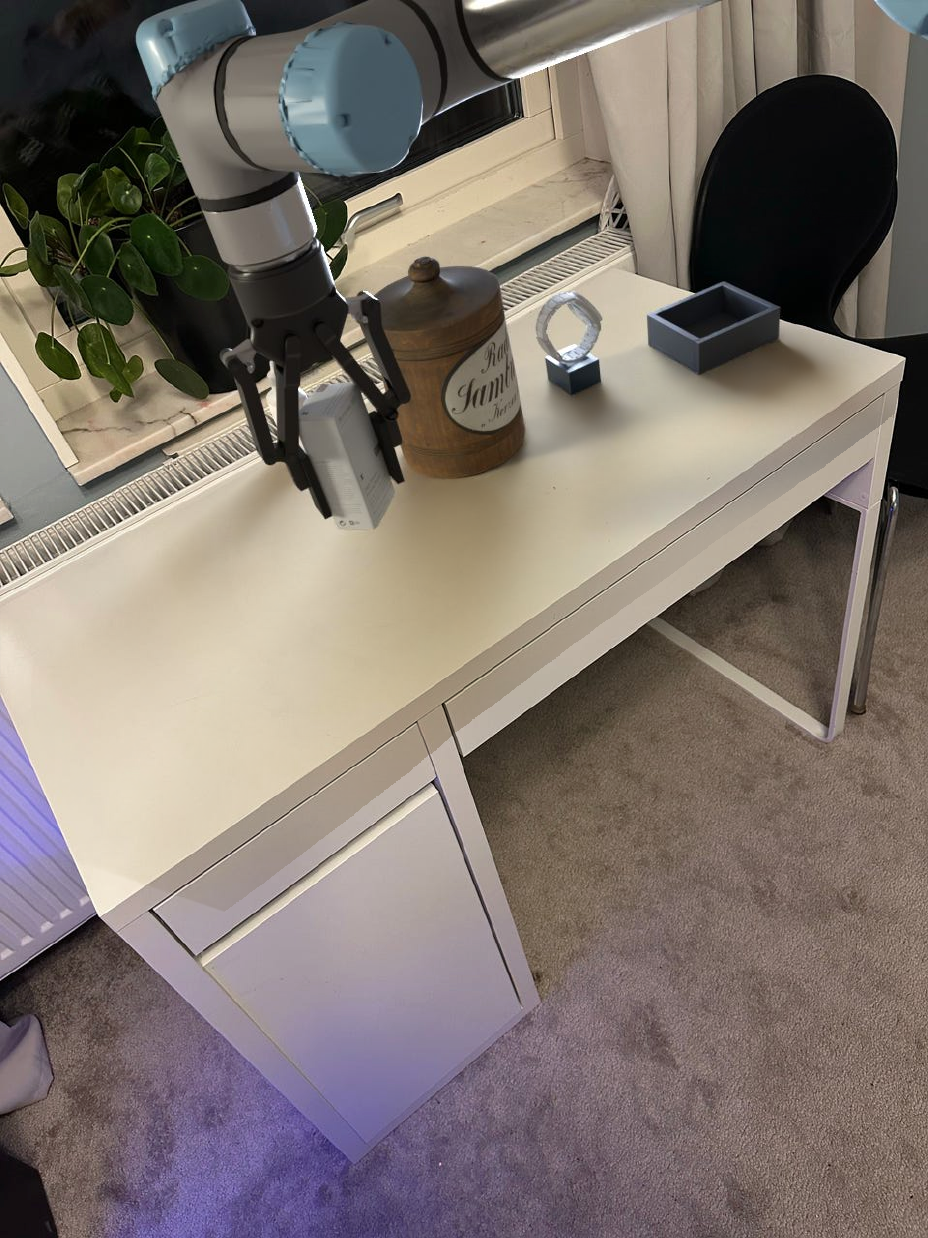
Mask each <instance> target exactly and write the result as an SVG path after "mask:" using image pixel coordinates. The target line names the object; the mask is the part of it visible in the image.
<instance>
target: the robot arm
mask: <svg viewBox="0 0 928 1238" xmlns="http://www.w3.org/2000/svg"><path fill="white" fill-rule="evenodd" d="M722 1H723V0H366V1H363V2H361V3H359V4H356V5H355V6H351V7H350V8H348V9H345V10H343V11H340V12H337V13H336V14H334V15H332V16H330V17H327V18H324V19H323V20H322V19H321V20H320V21H318V22H315V23H313V24H311V25H309V26H305V27H303V28H299V29H296V30H291V31H286V32H279V33H273V34H266V35H257V33H256V28H255V26H254V25H253V23H252V21H251V19H250V17H249V15H248V12H247V9H246V7H245V5H244V3H243V2H242V1H241V0H194V1H189V2H186V3H184V4H181V5H177V6H174V7H172V8H169V9H166V10H163V11H161V12H159V13H156V14H154V15H151V16H150V17H148V18H146V19H144V20H143V21H142V22H141V23H140V24H139V25H138V28H137V30H136V34H135V43H136V47H137V50H138V53H139V55H140V59H141V61H142V64H143V67H144V69H145V73H146V75H147V77H148V80H149V83H150V86H151V88H152V90H151V94H152V99H153V101H154V102H155V103H156V105H157V107H158V110H159V112H160V114H161V116H162V119H163V122H164V123H165V126H166V129H167V131H168V133H169V136H170V138H171V141H172V142H173V145H174V146H175V149H176V152H177V155H178V157H179V159H180V162H181V164H182V167H183V168H184V171H185V174H186V177H187V178H188V180H189V183H190V185H191V187H192V190H193V192H194V194H195V197H196V198H197V201H198V203H199V205H200V208H201V210H202V214H203V215H204V218H205V221H206V224H207V225H208V229H209V231H210V233H211V235H212V238H213V241H214V243H215V246H216V249H217V251H218V253H219V256H220V258H221V260H222V261H223V262H224V263H226V264H227V265H228V269H227V276H228V278H229V281H230V284H231V287H232V289H233V291H234V293H235V296H236V298H237V301H238V303H239V306H240V308H241V311H242V313H243V315H244V317H245V320H246V321H245V322H246V339H245V340H244V341H242V342H241V343H239V344H238V345H237V346H236V347H234V348H232V349H231V348H229V347H228V348H227V347H225V348H223V349H222V350H221V351H220V353H219V359H220V361H221V362H222V363H223V365H224V366H225V367H226V369H227V370H228V372H229V373H230V374H231V375H232V376H233V379H234V382H235V386H236V388H237V389H236V390H237V392H238V396H239V399H240V402H241V405H242V409H243V412H244V415H245V418H246V421H247V425H248V428H249V431H250V435H251V438H252V441H253V445H254V448H255V451H256V452H257V454H258V455H259V457H260V458H261V460H262V461H263V463H265V465H267V466H270V467H271V466H274V465H275V464H277V463H284V465H285V467H286V469H287V472H288V474H289V476H290V479H291V481H292V483H293V484H294V485H295V487H296V488H297V489H298V490H299V491H300V492H303V491H305V490H308V492H309V494H310V496H311V499H312V501H313V503H314V507H316V509H317V510H318V512H319V513H320V514H321V516H322V517H323V519H324V520H327V519H329V518H331V517H332V513H331V511H330V508H329V506H328V503H327V501H326V498H325V496H324V493H323V491H322V488H321V486H320V483H319V481H318V478H317V476H316V473H315V471H314V468H313V466H312V463H311V461H310V458H309V457H308V455H307V454H306V453H305V452H304V450H303V449H302V448H301V447H300V445H299V389H300V386H301V373H303V372H306V371H308V370H310V368H312V367H313V366H314V365H316V364H321V363H326V362H329V361H331V360H334V362H336V364H337V365H338V366H339V367H340V368H341V369H342V371H343V372H344V373H345V375H347V377H348V378H349V379H350V380H351V382H354V383H355V384H356V386H357V387H358V388H359V389H360V391H361V394H362V395H363V396H364V397H365V398H366V399H367V401H368V402H369V403H370V404H371V405H372V406H373V408H375V410H373V411H371V412H368V414H369V416H370V419H371V422H372V425H373V428H374V431H375V434H376V437H377V440H378V442H379V445H380V448H381V451H382V454H383V457H384V460H385V463H386V466H387V469H388V471H389V474H390V477H391V480H392V481H394V482H395V483H396V484H397V485H400V484H403V483H405V481H406V480H405V477H404V474H403V470H402V467H401V464H400V461H399V458H398V454H397V451H396V448H397V447H399V446H401V444H402V436H401V432H400V430H399V426H398V423H397V418H398V416H399V413H398V411H397V408H398V407H399V406H400V405H402V404H406V403H408V402H409V401H410V399H411V394H410V391H409V389H408V387H407V384H406V382H405V379H404V377H403V375H402V372H401V370H400V368H399V365H398V363H397V360H396V358H395V356H394V353H393V351H392V348H391V346H390V344H389V341H388V339H387V337H386V334H385V332H384V329H383V327H382V319H381V304H380V302H379V300H378V299H376V298H375V297H373V296H374V295H372V294H371V293H370V292H369V291H366V290H360V291H359V292H357V294H356V296H350V297H343V296H342V295H341V294H340V293H339V291H338V290H337V287H336V285H335V284H336V283H335V281H334V278H333V275H332V272H331V269H330V268H331V267H330V266H329V262H328V259H327V255H326V253H325V250H324V246H323V244H322V242H321V241H320V240H319V239H317V237H315V236H316V234H317V230H318V228H317V225H316V222H315V219H314V216H313V213H312V209H311V207H310V204H309V201H308V198H307V195H306V192H305V189H304V186H303V182H302V180H301V177H300V173H310V174H312V173H313V174H326V175H332V176H334V177H342V176H345V177H347V178H352V177H359V176H361V175H363V174H374V173H381V172H385V171H388V170H391V169H393V168H394V167H396V166H398V165H399V164H401V163H402V162H403V161H404V160H405V159H406V157H407V155H408V154H409V149H410V148H411V146H412V144H413V142H414V141H415V140H416V139H417V138H418V135H419V132H420V130H421V126H422V125H424V124H425V123H427V122H428V121H430V120H432V119H433V118H434V117H436V116H438V115H440V114H442V113H443V112H445V111H447V110H449V109H451V108H453V107H455V106H457V105H459V104H460V103H463V102H465V101H466V100H469V99H471V98H474V97H475V96H478V95H480V94H484V93H486V92H488V91H490V90H493V89H496V88H498V87H501V86H504V85H507V84H509V83H511V82H513V81H515V80H518V79H519V78H521V77H525V76H527V75H529V74H532V73H534V72H538V71H540V70H543V69H545V68H547V67H551V66H553V65H556V64H558V63H561V62H563V61H566V60H568V59H572V58H574V57H577V56H579V55H582V54H584V53H587V52H590V51H592V50H595V49H598V48H600V47H604V46H606V45H608V44H611V43H614V42H617V41H619V40H622V39H624V38H627V37H629V36H632V35H635V34H638V33H640V32H642V31H645V30H648V29H650V28H653V27H656V26H659V25H661V24H664V23H666V22H669V21H672V20H674V19H677V18H680V17H682V16H685V15H688V14H690V13H694V12H695V11H698V10H701V9H703V8H706V7H708V6H711V5H714V4H716V3H719V2H722ZM873 1H874V2H875V3H876V5H877V6H878V7H879V8H880V9H881V10H882V12H883V13H885V14H886V16H888V17H889V18H890V19H891V20H892V21H893V22H895V24H897V25H899V27H901V28H903V29H904V30H906V31H907V32H908V33H910V34H913V35H914V36H917V37H921V38H924V39H925V40H927V41H928V0H873ZM348 315H350V316H351V318H352V320H353V321H354V322H355V323H357V324H358V325H359V327H360V329H361V332H362V334H363V336H364V339H365V342H366V344H367V345H368V348H369V350H370V352H371V354H372V357H373V359H374V362H375V364H376V366H377V368H378V370H379V373H380V375H382V376H381V378H382V377H383V380H384V382H385V384H386V386H387V389H388V390H387V391H386V392H385V391H384V392H382V391H381V390H380V388H379V387H378V386H377V384H375V382H374V381H373V380H372V378H371V377H370V376H369V375H368V373H367V372H366V371H365V370H364V369H363V368H362V366H361V365H360V364H359V363H358V361H357V360H356V359H355V357H354V356H353V354H352V353H351V352H350V351H349V350H348V348H347V347H346V346H345V345H344V343H342V341H341V339H342V336H343V332H344V329H345V325H346V322H347V318H348ZM257 353H258V354H260V355H261V356H263V357H265V358H266V359H268V360H269V361H273V362H274V374H275V377H276V411H277V426H276V441H275V442H274V441H273V436H272V434H271V430H270V426H269V423H268V419H267V415H266V412H265V409H264V405H263V403H262V399H261V396H260V392H259V389H258V386H257V383H256V381H255V379H254V377H253V375H252V373H254V372H255V369H256V363H255V359H254V358H255V356H256V354H257ZM383 380H382V381H383Z"/></svg>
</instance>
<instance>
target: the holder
mask: <svg viewBox="0 0 928 1238" xmlns="http://www.w3.org/2000/svg"><path fill="white" fill-rule="evenodd" d="M780 321H781V306H778V305H777V304H774V303H772V302H771V301H770V302H769V301H767V300H766V299H764V298H761V297H759V296H756V295H754V294H753V293H750V292H748V291H746V290H743V289H741V288H739V287H736V286H735V285H732V284H730V283H729V282H726V281H724V280H723V281H721V282H719V283H716V284H714V285H712V286H710V287H708V288H705V289H702V290H701V291H698V292H696V293H693V294H691V295H688V296H686V297H684V298H682V299H679V300H677V301H675V302H673V303H670V304H668V305H665V306H663V307H660V308H659V309H656V310H654V311H652V312H649V313H647V314H646V326H647V327H646V329H647V345H649V346H650V347H651V348H653V349H655V350H657V351H658V352H660V353H662V354H663V355H665V356H666V357H668V358H669V359H672V360H673V361H675V362H676V363H678V364H680V365H681V366H683V367H684V368H687V369H688V370H690V371H691V372H693V373H695V374H696V375H698V376H700V375H702V374H705V373H708V372H709V371H712V370H714V369H716V368H719V367H720V366H723V365H726V364H727V363H729V362H732V361H734V360H736V359H738V358H740V357H742V356H745V355H747V354H749V353H751V352H753V351H756V350H758V349H760V348H762V347H765V346H766V345H767V346H768V345H769V344H772V343H773V342H776V341H778V340H779V339H780V323H781V322H780Z"/></svg>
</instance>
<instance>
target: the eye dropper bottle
mask: <svg viewBox="0 0 928 1238" xmlns="http://www.w3.org/2000/svg"><path fill="white" fill-rule="evenodd" d="M269 367H270V369H269V371H268V372H267V374H266V377H267V381H268V382H269V384H270V387H271V389H270V390H269V391H268V392H267V394H266V395H265V397H266V398H265V400H266V403H267V406H268V408H269V411H270V413H271V415H272V418H273V420H274V423H275V425H276V427H277V411H276V377H275V374H274V362H273V361H271V360H269ZM308 397H309V396H308V395H307V394H306V393H305V391H303V390H302V389H301V388H299V411H300V409H301V408H302V405H303V403H304V402H305V400H306V399H307V398H308ZM299 445H300V447H301V448H302V449H303V450H304V452H305V449H304V447H303V444H302V442H301V440H300V437H299ZM305 453H306V452H305Z"/></svg>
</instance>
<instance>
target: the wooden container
mask: <svg viewBox="0 0 928 1238" xmlns="http://www.w3.org/2000/svg"><path fill="white" fill-rule="evenodd" d="M501 289H502V288H501V284H500V281H499V279H498V277H497V275H495V273H493V272H491V271H490V270H488V269H485V268H482V267H478V266H472V265H450V266H449V265H448V266H441V265H440V262H439V260H437V259H436V258H433V257H430V256H422V257H421V256H420V257H419V258H417V259H414V261H413V262H412V263H411V264H410V265H409V267H408V270H407V275H406V276H404V277H402V278H400V279H397V280H395V281H393V282H391V283H389V284H387V285H386V286H384V287H382V288H381V289H380V290H379V291H377V292H376V293H375V294H374V295H372V296H373V297H375V298H376V299H378V300H379V302H380V304H381V319H382V327H383V329H384V332H385V334H386V337H387V339H388V341H389V344H390V346H391V348H392V351H393V353H394V356H395V358H396V360H397V363H398V365H399V368H400V370H401V372H402V375H403V377H404V379H405V382H406V384H407V387H408V389H409V391H410V394H411V399H410V401H409V402H408V403H406V404H402V405H400V406H399V407H398V408H397V411H398V413H399V416H398V418H397V423H398V426H399V430H400V432H401V436H402V444H401V445H400V448H401V452H402V455H403V458H404V460H405V461H404V462H405V463H406V464H407V465H408V467H410V468H411V469H412V470H413V471H415V472H416V473H419V474H421V475H424V476H427V477H432V478H438V479H457V478H465V477H469V476H474V475H477V474H480V473H483V472H485V471H489V470H492V469H493V468H495V467H497V466H499V465H501V464H502V463H504V462H506V461H507V460H508V459H509V458H511V457H512V456H513V455H514V454H515V453H516V452H517V451H518V450H519V448H520V447H521V446H522V444H523V442H524V440H525V435H526V426H525V420H524V413H523V408H522V399H521V394H520V388H519V387H520V386H519V382H518V376H517V370H516V365H515V360H514V356H513V351H512V346H511V340H510V335H509V330H508V329H509V328H508V323H507V320H506V315H505V314H506V313H505V307H504V300H503V294H502V290H501ZM380 375H381V374H380ZM381 380H382V384H383V387H384V388H383V389H384V393H385V392H386V391H387V390H388V389H387V386H386V384H385V382H384V380H383V377H382V375H381Z"/></svg>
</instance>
